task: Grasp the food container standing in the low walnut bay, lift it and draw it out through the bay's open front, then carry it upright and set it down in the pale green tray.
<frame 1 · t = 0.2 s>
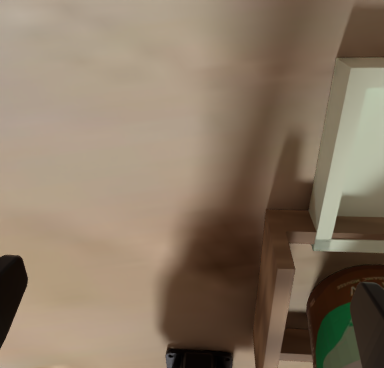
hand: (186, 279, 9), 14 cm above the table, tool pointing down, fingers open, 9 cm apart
food container: (357, 281, 28), on the table
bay: (358, 283, 28), on the table
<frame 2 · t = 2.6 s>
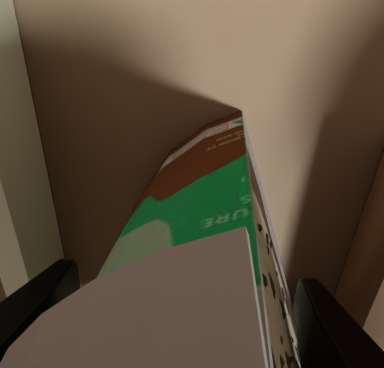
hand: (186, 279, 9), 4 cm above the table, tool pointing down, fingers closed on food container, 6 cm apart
food container: (194, 238, 14), on the table, touching gripper
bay: (194, 241, 14), on the table
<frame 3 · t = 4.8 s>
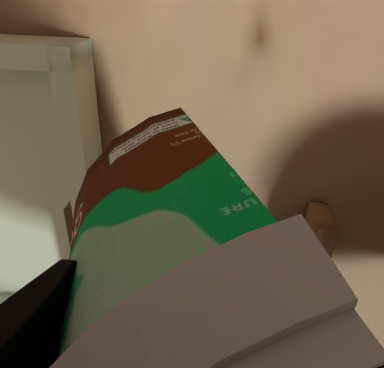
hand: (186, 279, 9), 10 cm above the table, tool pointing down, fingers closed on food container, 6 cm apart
tray: (8, 194, 21), on the table
food container: (124, 222, 15), point 5 cm above the table, touching gripper
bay: (197, 260, 22), on the table
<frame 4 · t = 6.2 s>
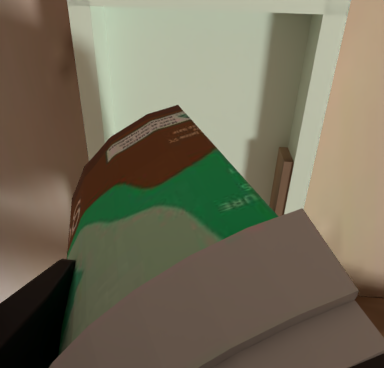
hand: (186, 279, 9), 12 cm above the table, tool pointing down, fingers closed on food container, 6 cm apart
tray: (200, 153, 21), on the table
food container: (120, 219, 15), point 7 cm above the table, touching gripper
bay: (374, 219, 23), on the table
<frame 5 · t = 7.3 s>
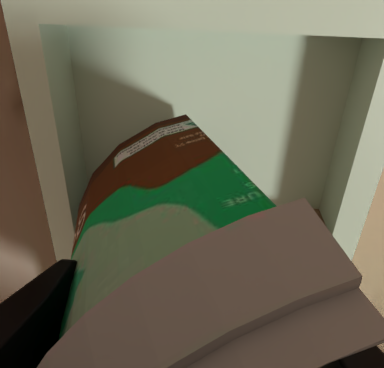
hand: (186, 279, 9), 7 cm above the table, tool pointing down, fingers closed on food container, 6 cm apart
tray: (201, 212, 16), on the table
food container: (126, 229, 15), point 2 cm above the table, touching gripper, tray
when the fingers open (6 cm above the table, at t = 7.8 s): food container stays where it is, resting on tray.
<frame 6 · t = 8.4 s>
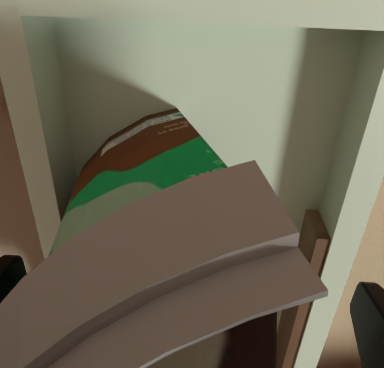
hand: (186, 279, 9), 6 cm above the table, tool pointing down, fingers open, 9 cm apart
tray: (197, 213, 16), on the table
food container: (119, 226, 15), point 1 cm above the table, touching tray
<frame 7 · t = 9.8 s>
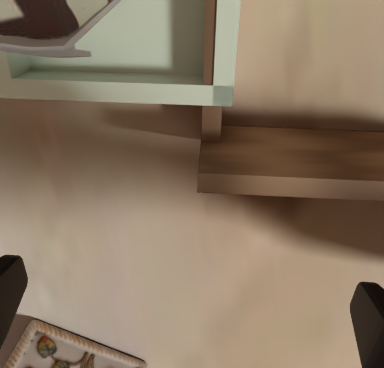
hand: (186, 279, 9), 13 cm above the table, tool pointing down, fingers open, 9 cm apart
decorative jar: (73, 367, 35), on the table
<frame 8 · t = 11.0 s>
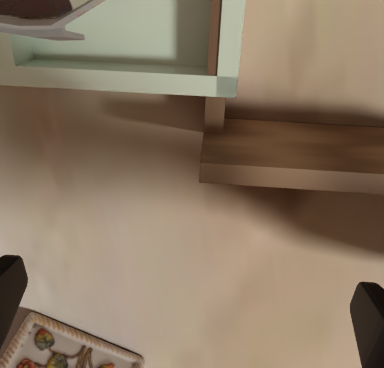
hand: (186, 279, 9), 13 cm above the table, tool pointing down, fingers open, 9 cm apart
decorative jar: (70, 361, 34), on the table
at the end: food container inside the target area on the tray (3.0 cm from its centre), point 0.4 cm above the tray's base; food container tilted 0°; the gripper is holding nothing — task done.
